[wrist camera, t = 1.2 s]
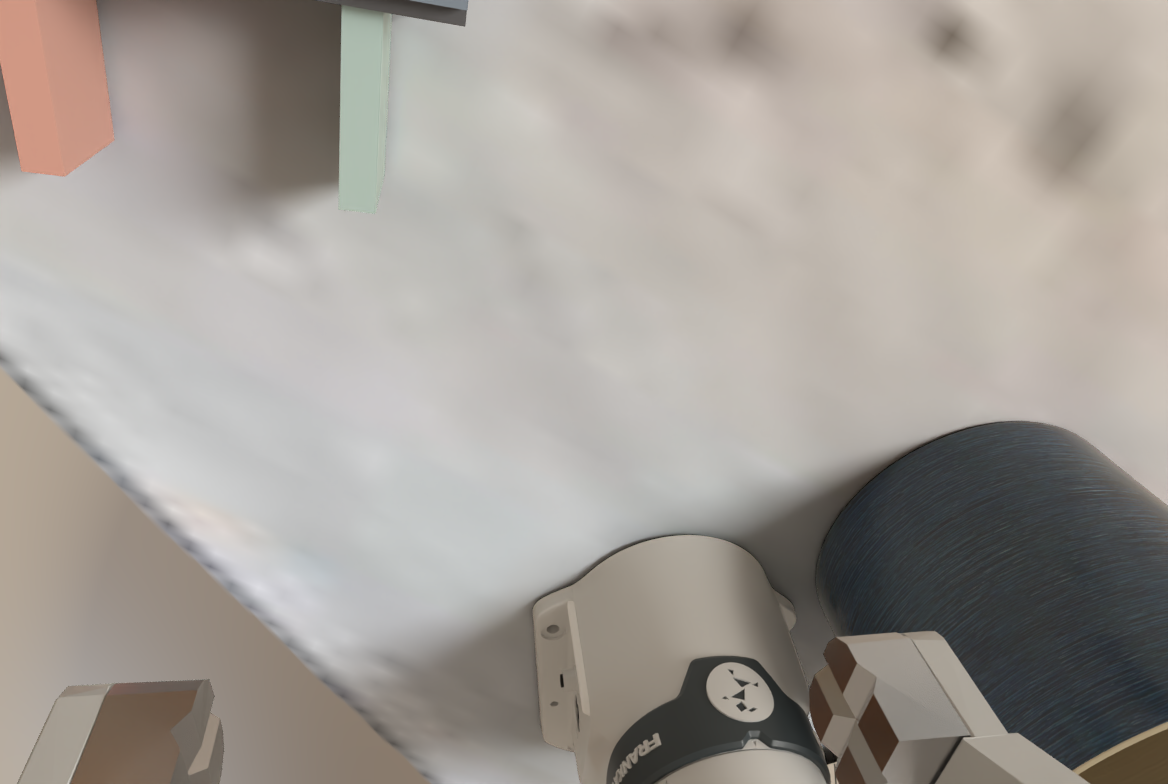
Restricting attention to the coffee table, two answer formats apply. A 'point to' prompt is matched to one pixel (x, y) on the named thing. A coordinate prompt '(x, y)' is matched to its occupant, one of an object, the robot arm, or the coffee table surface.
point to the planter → (1022, 586)
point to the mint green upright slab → (363, 107)
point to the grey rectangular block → (415, 8)
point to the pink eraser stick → (55, 82)
